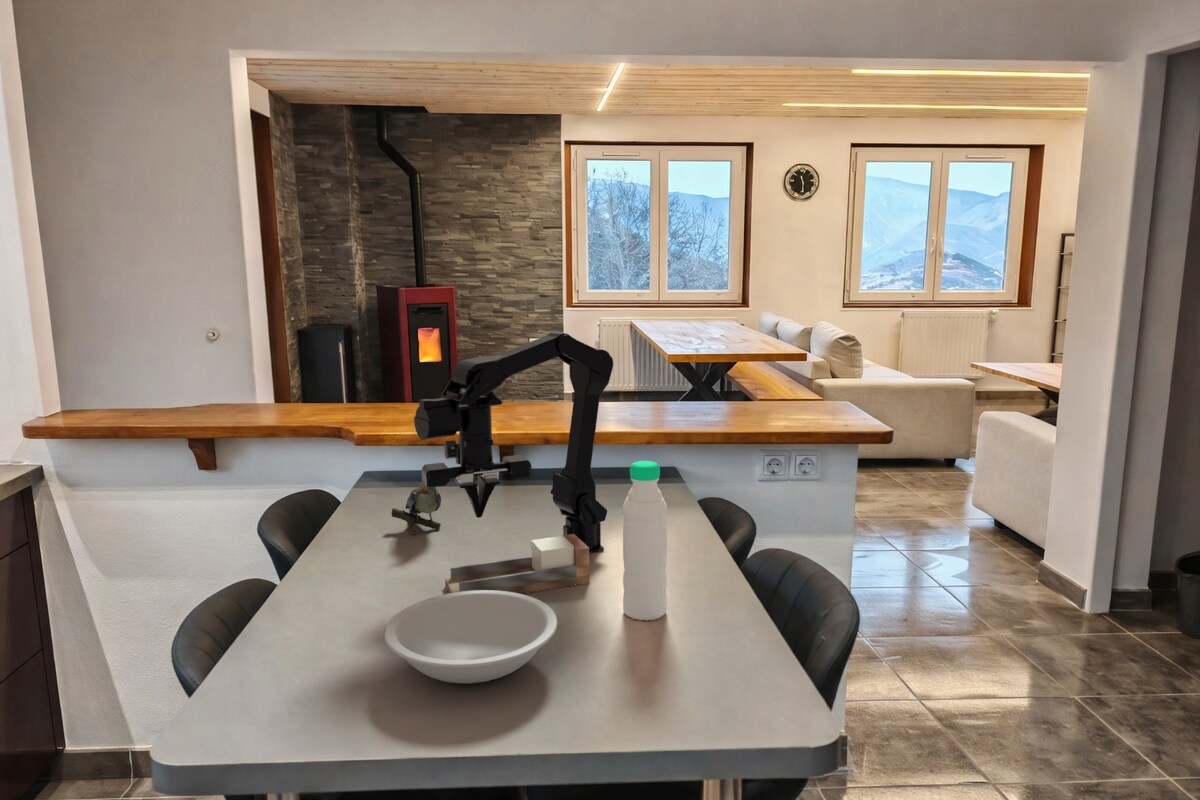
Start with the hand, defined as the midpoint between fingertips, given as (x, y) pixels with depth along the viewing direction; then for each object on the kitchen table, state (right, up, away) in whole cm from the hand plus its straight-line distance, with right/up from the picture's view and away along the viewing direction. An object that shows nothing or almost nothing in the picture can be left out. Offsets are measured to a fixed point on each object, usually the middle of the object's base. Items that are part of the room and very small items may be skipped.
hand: (478, 516), depth 153 cm
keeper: (+13, -9, -1) cm, 16 cm away
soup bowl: (+4, -17, -32) cm, 36 cm away
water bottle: (+29, -14, -14) cm, 35 cm away
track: (+7, -12, -3) cm, 14 cm away
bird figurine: (-17, -7, +27) cm, 32 cm away
